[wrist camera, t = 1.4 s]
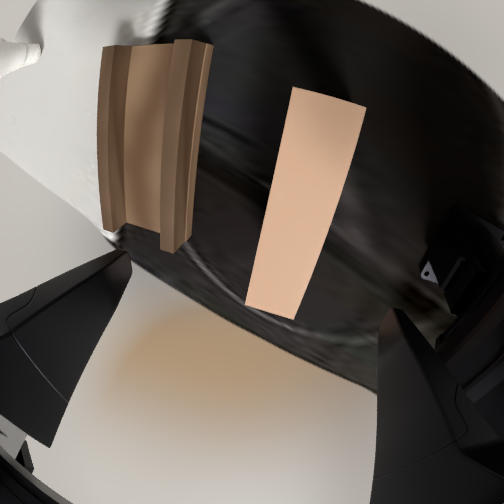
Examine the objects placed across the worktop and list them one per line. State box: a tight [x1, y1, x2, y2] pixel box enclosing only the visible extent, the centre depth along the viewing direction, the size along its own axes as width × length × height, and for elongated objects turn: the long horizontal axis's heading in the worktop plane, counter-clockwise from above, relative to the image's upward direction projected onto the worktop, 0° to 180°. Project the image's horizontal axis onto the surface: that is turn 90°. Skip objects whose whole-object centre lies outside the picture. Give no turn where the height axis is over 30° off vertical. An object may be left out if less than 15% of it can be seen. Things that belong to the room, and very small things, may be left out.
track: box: [97, 39, 214, 254], centre depth 18 cm, size 8×16×3 cm, turn 170°
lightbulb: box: [0, 38, 41, 78], centre depth 12 cm, size 6×6×11 cm
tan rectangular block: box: [245, 87, 366, 319], centre depth 15 cm, size 3×12×7 cm, turn 170°
